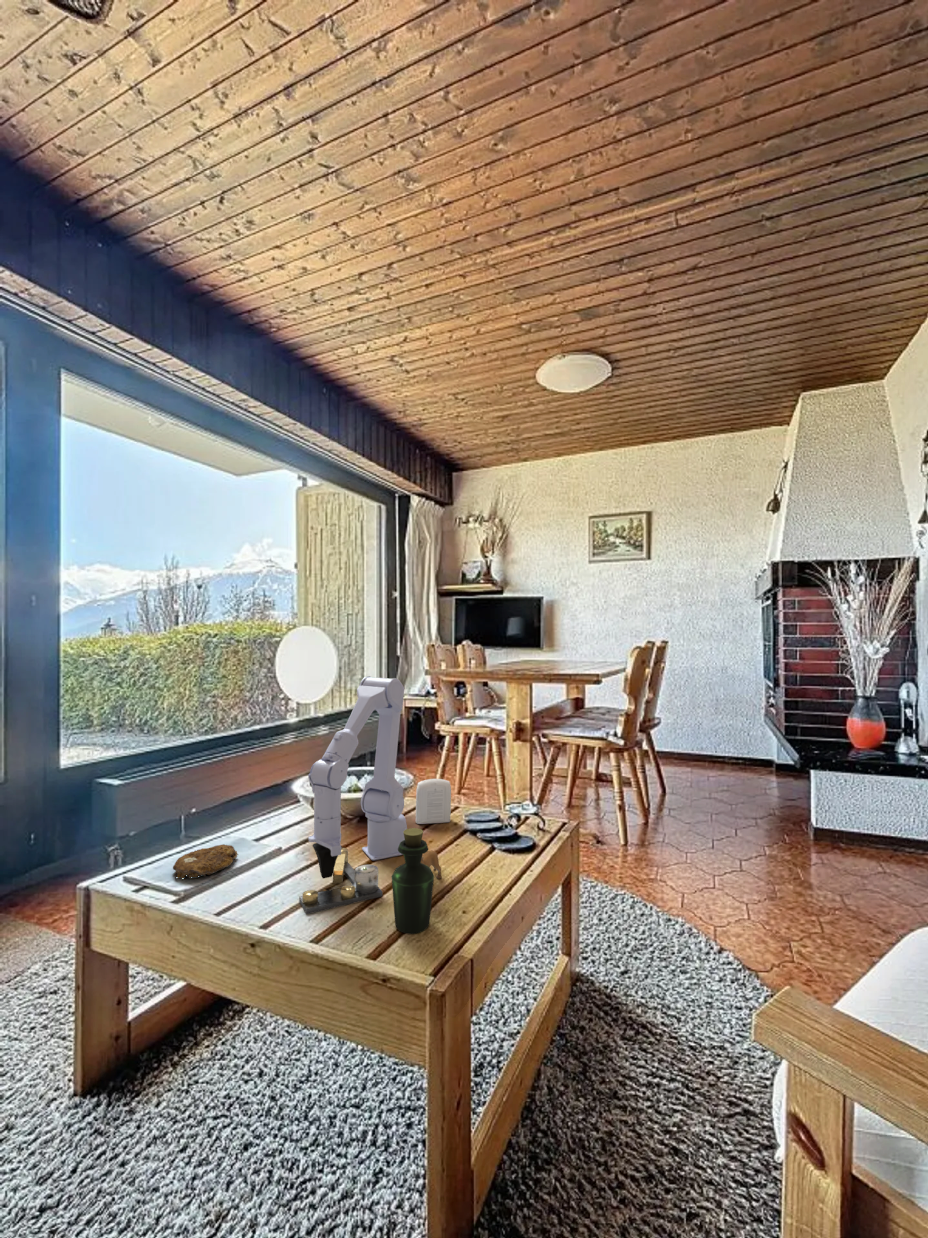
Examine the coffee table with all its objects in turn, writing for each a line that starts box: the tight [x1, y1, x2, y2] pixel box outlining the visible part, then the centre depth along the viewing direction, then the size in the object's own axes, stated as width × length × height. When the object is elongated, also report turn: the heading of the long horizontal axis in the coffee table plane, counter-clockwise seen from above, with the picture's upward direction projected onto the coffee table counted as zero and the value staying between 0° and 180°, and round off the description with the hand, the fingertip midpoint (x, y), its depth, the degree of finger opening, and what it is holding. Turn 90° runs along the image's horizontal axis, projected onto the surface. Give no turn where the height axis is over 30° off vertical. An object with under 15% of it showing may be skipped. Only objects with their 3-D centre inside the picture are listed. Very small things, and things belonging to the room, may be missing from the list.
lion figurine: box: [420, 849, 442, 880], centre depth 127 cm, size 15×5×9 cm, turn 165°
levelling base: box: [298, 861, 383, 915], centre depth 126 cm, size 16×18×6 cm
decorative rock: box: [172, 844, 239, 879], centre depth 136 cm, size 11×4×15 cm
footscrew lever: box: [332, 847, 349, 885], centre depth 132 cm, size 14×3×3 cm, turn 8°
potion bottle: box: [391, 827, 435, 935], centre depth 111 cm, size 8×8×18 cm
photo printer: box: [415, 778, 452, 825], centre depth 167 cm, size 10×4×12 cm, turn 104°
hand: (326, 876), depth 127 cm, fingers closed
